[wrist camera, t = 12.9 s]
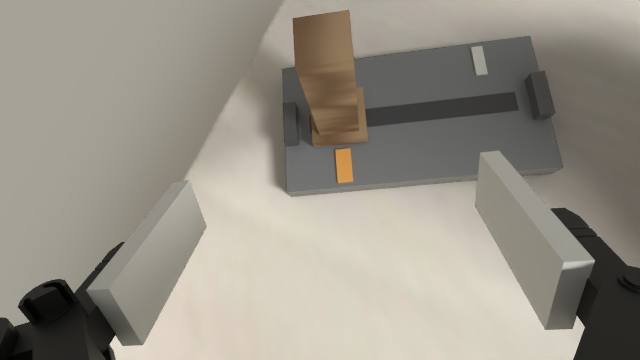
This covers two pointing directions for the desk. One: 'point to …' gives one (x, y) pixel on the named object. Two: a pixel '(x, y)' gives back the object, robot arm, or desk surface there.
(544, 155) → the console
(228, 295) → the desk surface
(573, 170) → the desk surface
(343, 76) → the fader
